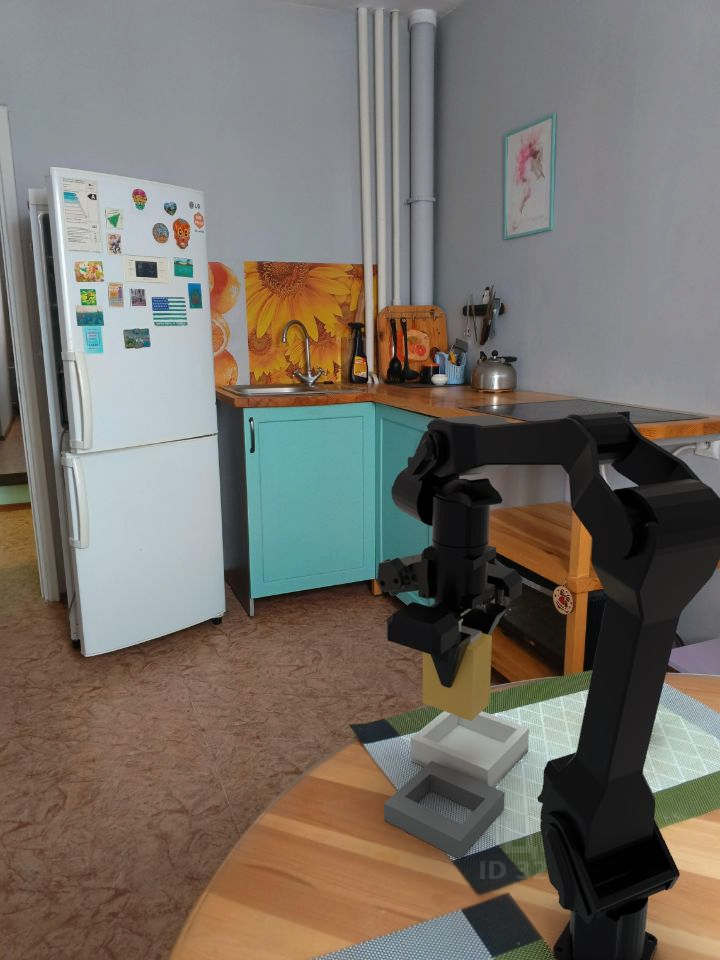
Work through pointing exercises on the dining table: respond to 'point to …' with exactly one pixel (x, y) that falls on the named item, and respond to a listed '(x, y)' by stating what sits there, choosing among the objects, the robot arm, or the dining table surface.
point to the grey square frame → (437, 826)
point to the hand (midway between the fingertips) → (456, 677)
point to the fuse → (462, 679)
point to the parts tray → (471, 745)
